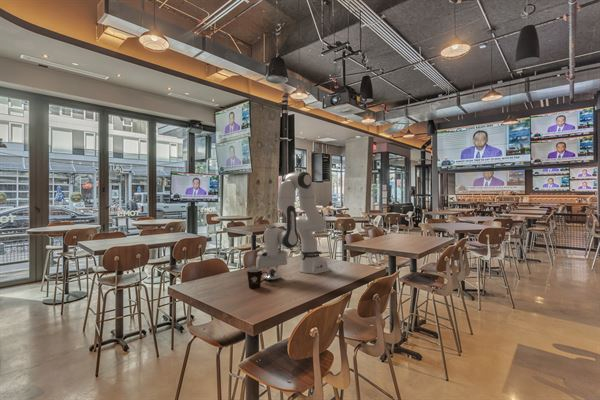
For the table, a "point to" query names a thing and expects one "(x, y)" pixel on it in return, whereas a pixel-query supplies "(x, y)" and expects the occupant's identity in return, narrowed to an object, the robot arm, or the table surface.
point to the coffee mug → (255, 277)
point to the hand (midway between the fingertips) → (272, 273)
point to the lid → (272, 275)
